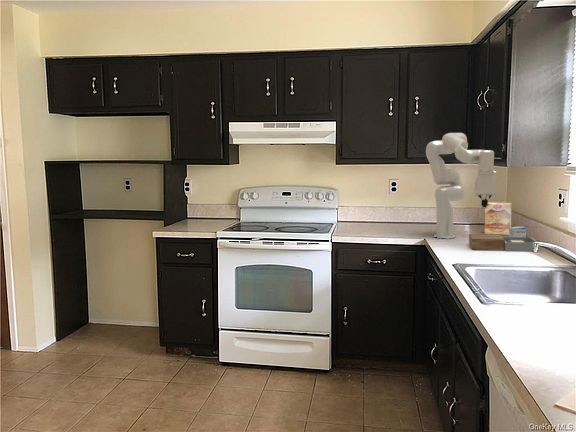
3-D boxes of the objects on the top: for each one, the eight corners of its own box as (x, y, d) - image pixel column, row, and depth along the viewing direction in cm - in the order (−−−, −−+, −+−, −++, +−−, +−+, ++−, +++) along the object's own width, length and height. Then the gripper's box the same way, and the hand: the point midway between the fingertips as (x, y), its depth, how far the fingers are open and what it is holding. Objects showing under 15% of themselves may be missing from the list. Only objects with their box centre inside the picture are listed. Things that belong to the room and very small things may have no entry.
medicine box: (514, 243, 278) (514, 228, 277) (508, 242, 283) (509, 227, 282) (526, 242, 280) (526, 227, 279) (520, 241, 285) (520, 226, 284)
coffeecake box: (484, 233, 313) (484, 203, 311) (485, 232, 319) (486, 202, 317) (510, 234, 306) (510, 203, 304) (511, 233, 312) (511, 202, 310)
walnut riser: (469, 244, 278) (469, 234, 277) (499, 245, 274) (499, 234, 273) (471, 250, 263) (472, 239, 262) (504, 250, 258) (504, 239, 258)
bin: (499, 244, 275) (499, 236, 274) (531, 245, 271) (531, 237, 270) (505, 251, 257) (505, 242, 257) (538, 251, 253) (539, 242, 253)
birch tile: (521, 240, 265) (521, 245, 266) (509, 239, 267) (509, 245, 267) (524, 242, 259) (524, 247, 260) (511, 241, 261) (511, 247, 261)
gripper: (499, 172, 268) (497, 206, 271) (470, 172, 272) (469, 205, 275) (501, 173, 261) (500, 208, 264) (472, 173, 265) (470, 207, 267)
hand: (484, 206), depth 269 cm, fingers closed
